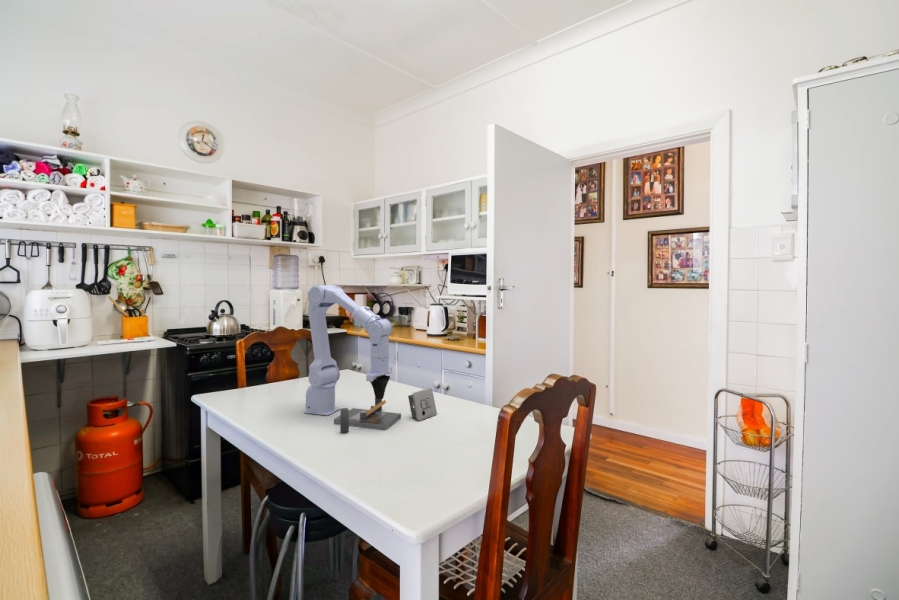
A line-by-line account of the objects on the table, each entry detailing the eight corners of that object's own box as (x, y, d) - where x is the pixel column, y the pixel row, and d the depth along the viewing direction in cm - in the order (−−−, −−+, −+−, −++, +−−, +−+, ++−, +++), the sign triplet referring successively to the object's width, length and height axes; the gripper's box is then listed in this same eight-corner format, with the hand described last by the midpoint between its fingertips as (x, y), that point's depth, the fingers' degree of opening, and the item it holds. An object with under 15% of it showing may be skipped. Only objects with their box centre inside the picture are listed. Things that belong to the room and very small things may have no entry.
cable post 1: (338, 432, 130) (338, 410, 130) (343, 430, 133) (343, 407, 132) (345, 433, 130) (345, 410, 129) (350, 431, 132) (350, 408, 132)
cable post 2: (373, 410, 152) (373, 391, 152) (376, 409, 155) (376, 389, 154) (380, 411, 152) (380, 391, 151) (382, 409, 154) (383, 390, 154)
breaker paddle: (360, 415, 139) (375, 404, 137) (369, 409, 145) (384, 398, 143) (363, 419, 139) (378, 408, 137) (372, 413, 144) (387, 403, 143)
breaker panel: (334, 423, 138) (334, 412, 138) (352, 412, 150) (352, 401, 150) (385, 430, 133) (385, 418, 133) (400, 418, 145) (401, 407, 145)
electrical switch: (418, 421, 142) (417, 393, 142) (407, 420, 145) (406, 392, 145) (437, 415, 149) (435, 388, 149) (426, 413, 152) (424, 387, 152)
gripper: (381, 361, 131) (380, 406, 132) (400, 354, 145) (399, 394, 146) (360, 360, 133) (360, 403, 134) (381, 352, 147) (380, 392, 148)
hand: (379, 398), depth 140 cm, fingers closed
